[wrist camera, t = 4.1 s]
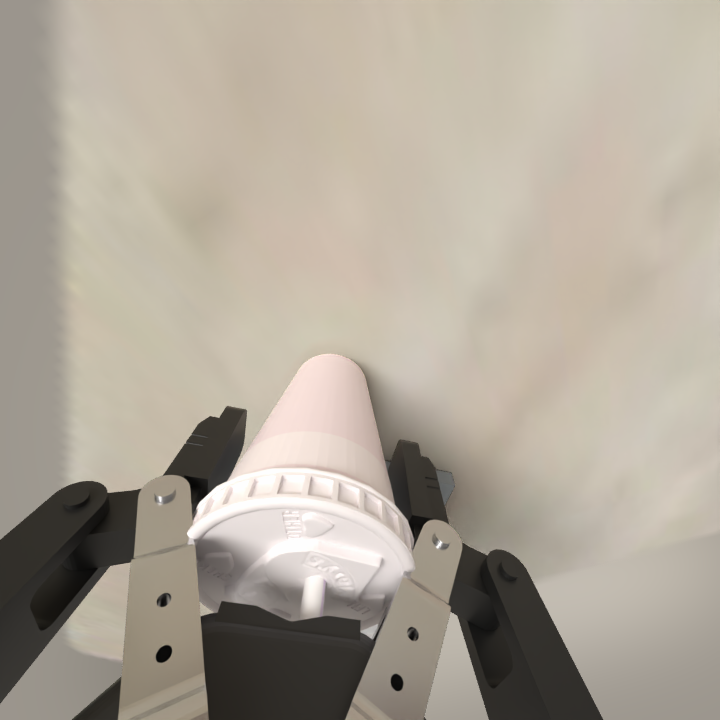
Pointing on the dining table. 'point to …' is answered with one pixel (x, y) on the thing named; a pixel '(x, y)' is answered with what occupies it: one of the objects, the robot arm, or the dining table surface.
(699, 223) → the dining table surface
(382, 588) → the smoothie
